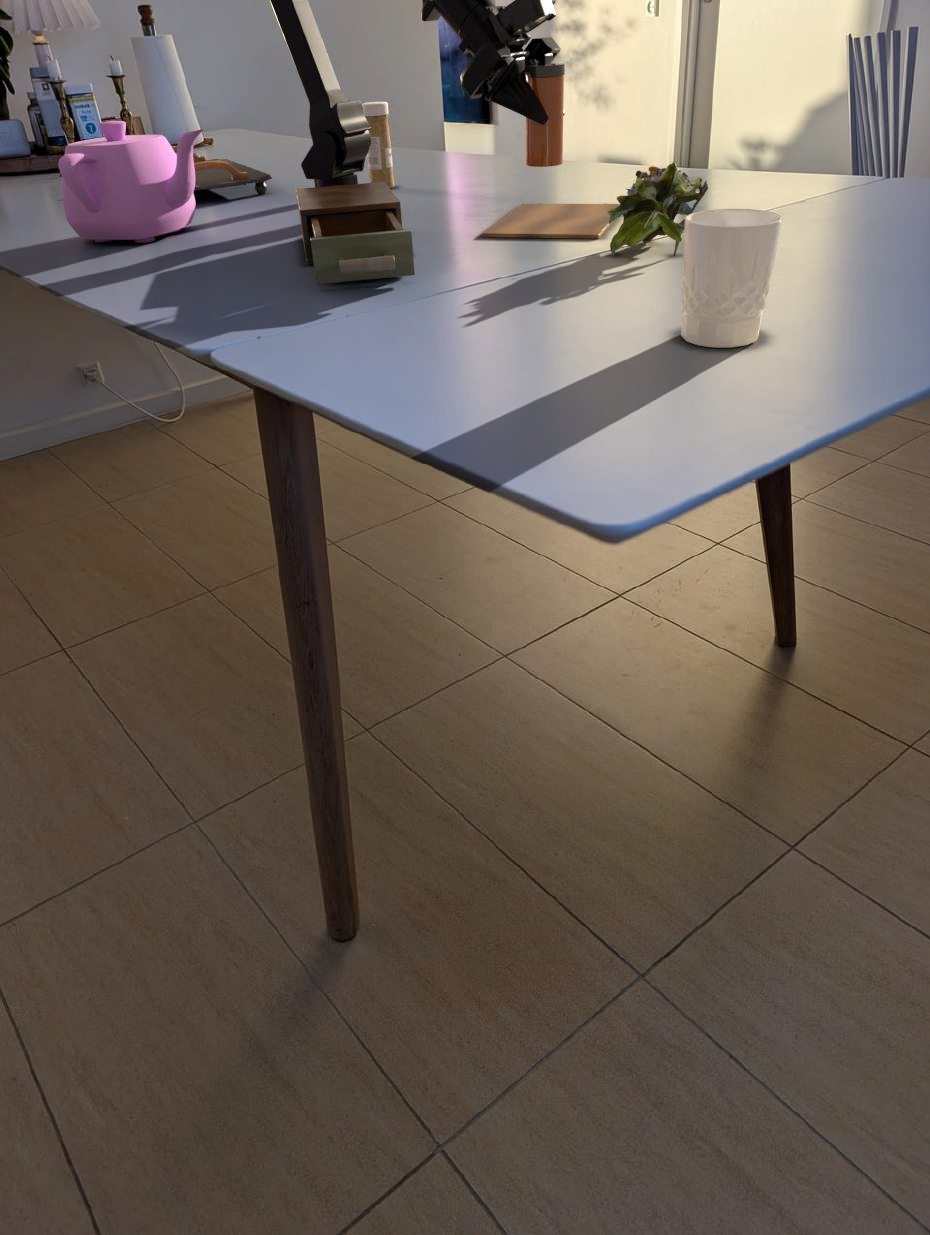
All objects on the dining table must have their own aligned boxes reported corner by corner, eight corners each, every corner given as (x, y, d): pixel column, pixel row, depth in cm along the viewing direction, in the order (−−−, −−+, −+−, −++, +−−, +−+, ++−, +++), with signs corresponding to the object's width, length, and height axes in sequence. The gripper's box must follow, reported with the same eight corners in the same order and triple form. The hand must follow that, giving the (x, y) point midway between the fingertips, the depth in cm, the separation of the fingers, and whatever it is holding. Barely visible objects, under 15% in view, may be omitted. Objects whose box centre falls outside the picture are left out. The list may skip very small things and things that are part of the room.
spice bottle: (530, 168, 115) (530, 66, 108) (521, 163, 119) (520, 65, 113) (568, 165, 116) (569, 64, 109) (557, 160, 120) (558, 62, 113)
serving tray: (281, 194, 159) (275, 156, 155) (151, 212, 150) (142, 171, 147) (225, 172, 187) (219, 139, 184) (113, 185, 179) (104, 151, 176)
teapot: (37, 253, 126) (1, 133, 118) (126, 223, 142) (100, 116, 134) (175, 256, 120) (148, 130, 111) (251, 224, 136) (232, 112, 128)
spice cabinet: (404, 256, 113) (400, 201, 109) (307, 265, 111) (299, 210, 108) (389, 230, 127) (384, 181, 124) (302, 238, 126) (295, 188, 122)
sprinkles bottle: (399, 187, 159) (392, 101, 152) (377, 191, 157) (369, 104, 150) (387, 185, 162) (379, 100, 155) (365, 188, 160) (356, 103, 153)
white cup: (664, 327, 83) (673, 212, 77) (747, 321, 83) (762, 206, 78) (689, 354, 76) (701, 229, 71) (778, 347, 77) (797, 223, 71)
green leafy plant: (643, 287, 115) (684, 198, 114) (695, 288, 106) (741, 191, 104) (578, 244, 110) (620, 149, 108) (627, 241, 100) (675, 137, 99)
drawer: (420, 284, 97) (416, 238, 95) (318, 293, 96) (312, 247, 93) (397, 246, 114) (394, 206, 112) (310, 254, 113) (305, 214, 110)
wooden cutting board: (482, 237, 120) (482, 233, 120) (522, 207, 138) (522, 203, 137) (598, 238, 116) (599, 234, 116) (625, 207, 133) (625, 203, 133)
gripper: (479, -41, 100) (567, 72, 101) (546, -38, 113) (624, 61, 115) (424, 44, 108) (507, 148, 109) (493, 37, 121) (566, 130, 122)
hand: (554, 119), depth 114 cm, fingers closed on spice bottle, 5 cm apart
